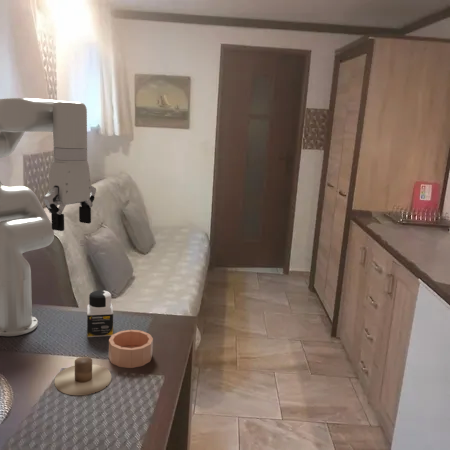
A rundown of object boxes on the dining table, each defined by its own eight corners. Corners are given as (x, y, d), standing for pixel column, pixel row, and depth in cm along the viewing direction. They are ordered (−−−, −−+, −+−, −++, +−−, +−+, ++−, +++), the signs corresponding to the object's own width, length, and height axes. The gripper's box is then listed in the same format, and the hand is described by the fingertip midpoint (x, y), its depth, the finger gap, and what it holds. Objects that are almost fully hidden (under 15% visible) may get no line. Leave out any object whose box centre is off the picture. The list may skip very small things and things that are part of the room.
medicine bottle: (87, 337, 135) (87, 297, 133) (87, 326, 142) (87, 288, 139) (113, 336, 137) (113, 296, 135) (111, 325, 144) (112, 287, 141)
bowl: (100, 357, 125) (100, 340, 124) (130, 342, 134) (130, 326, 133) (131, 372, 120) (131, 354, 118) (160, 355, 129) (160, 338, 127)
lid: (42, 383, 113) (42, 362, 112) (86, 361, 124) (86, 342, 123) (80, 403, 106) (80, 382, 105) (122, 378, 117) (123, 359, 116)
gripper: (81, 152, 122) (82, 218, 126) (30, 156, 106) (33, 231, 110) (106, 154, 119) (106, 222, 123) (57, 158, 104) (59, 235, 107)
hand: (72, 226), depth 117 cm, fingers open, 9 cm apart
